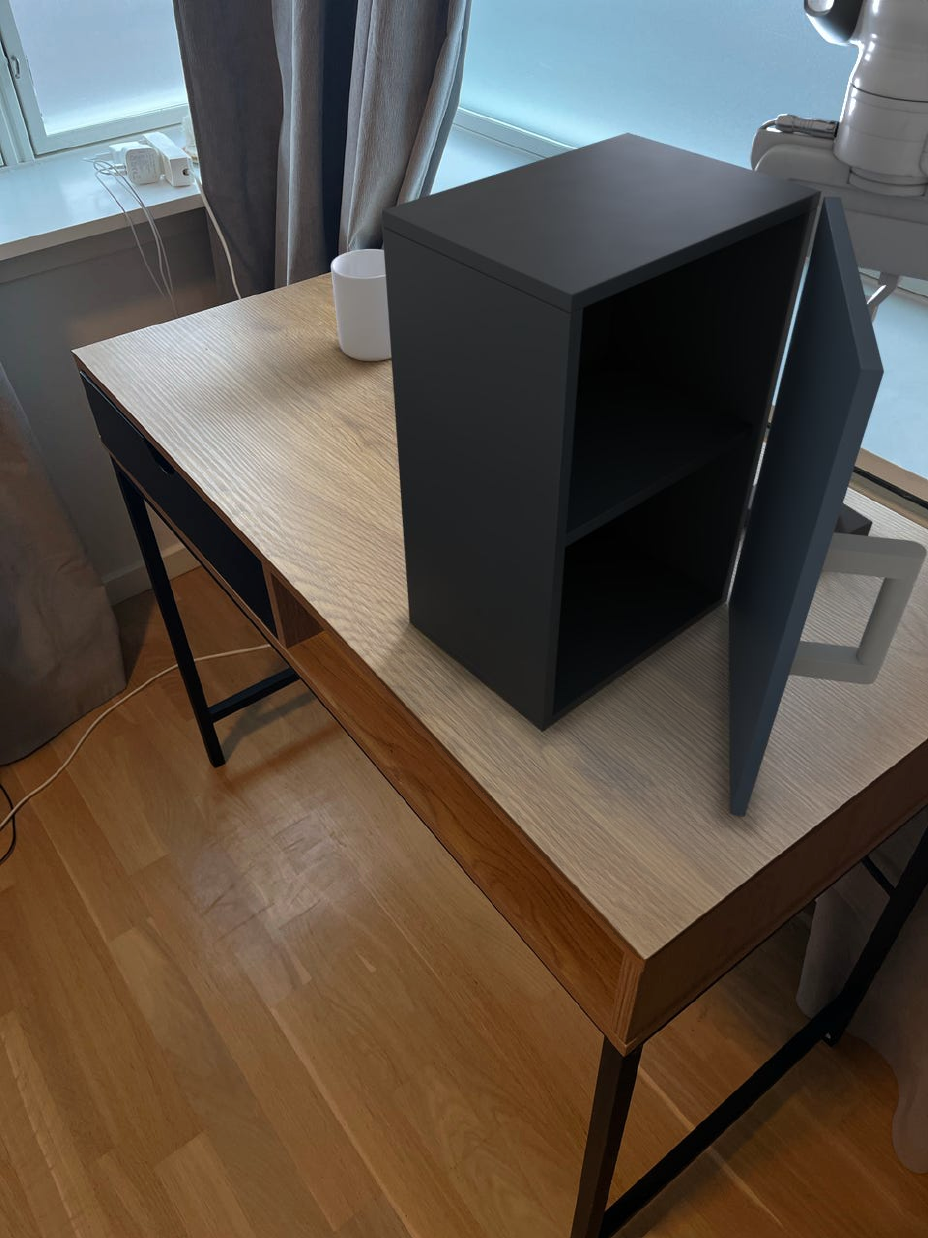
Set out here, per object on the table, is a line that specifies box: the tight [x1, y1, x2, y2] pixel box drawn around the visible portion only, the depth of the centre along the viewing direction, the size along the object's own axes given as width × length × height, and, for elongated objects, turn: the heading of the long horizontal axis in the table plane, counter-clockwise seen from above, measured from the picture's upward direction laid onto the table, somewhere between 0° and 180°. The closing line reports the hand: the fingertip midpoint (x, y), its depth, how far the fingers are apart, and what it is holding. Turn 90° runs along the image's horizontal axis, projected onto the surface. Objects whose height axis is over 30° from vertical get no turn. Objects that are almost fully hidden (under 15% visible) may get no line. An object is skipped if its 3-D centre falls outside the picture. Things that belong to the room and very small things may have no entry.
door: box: [727, 196, 928, 817], centre depth 62 cm, size 7×22×34 cm, turn 169°
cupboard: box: [380, 132, 821, 732], centre depth 70 cm, size 16×22×34 cm
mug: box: [330, 248, 391, 362], centre depth 115 cm, size 12×8×10 cm
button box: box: [743, 484, 874, 536], centre depth 89 cm, size 10×8×4 cm
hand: (853, 319), depth 76 cm, fingers closed
